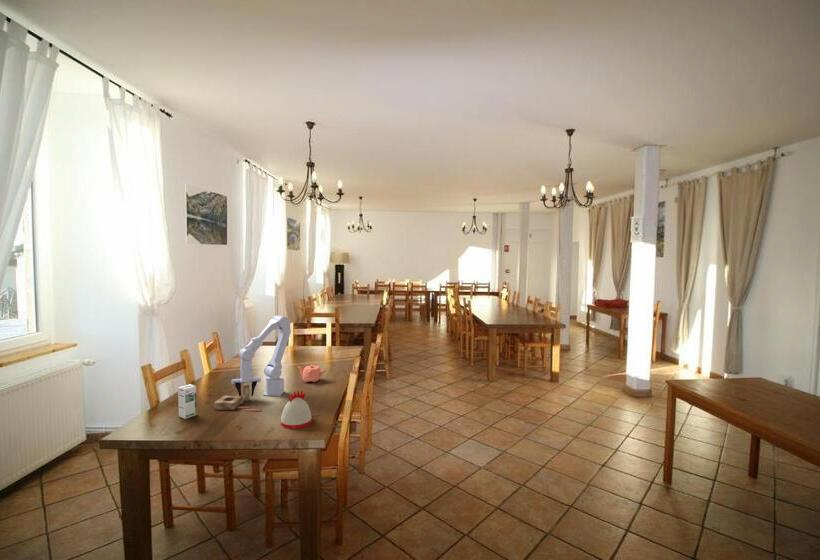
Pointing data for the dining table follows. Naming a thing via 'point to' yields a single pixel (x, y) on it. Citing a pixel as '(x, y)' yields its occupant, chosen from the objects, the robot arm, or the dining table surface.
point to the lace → (248, 409)
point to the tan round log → (245, 392)
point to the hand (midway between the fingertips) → (246, 395)
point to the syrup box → (187, 401)
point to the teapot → (311, 373)
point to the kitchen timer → (296, 412)
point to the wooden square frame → (228, 402)
